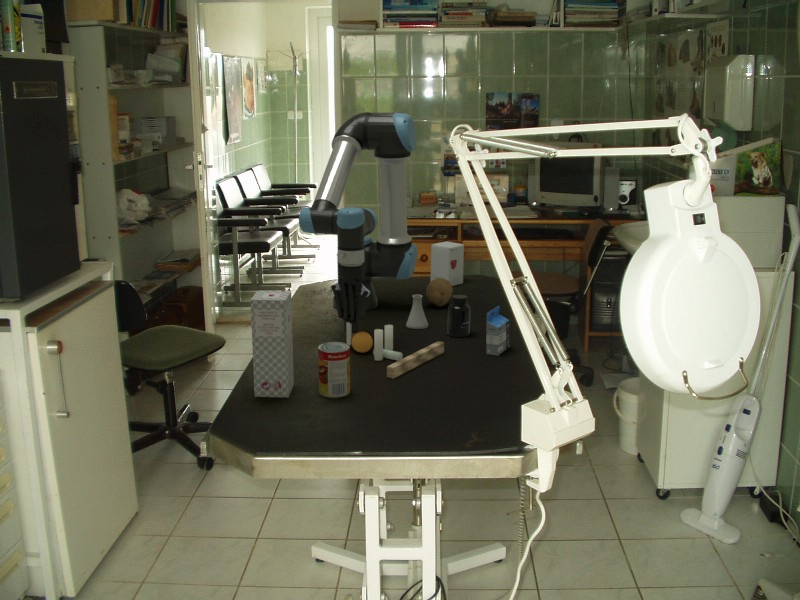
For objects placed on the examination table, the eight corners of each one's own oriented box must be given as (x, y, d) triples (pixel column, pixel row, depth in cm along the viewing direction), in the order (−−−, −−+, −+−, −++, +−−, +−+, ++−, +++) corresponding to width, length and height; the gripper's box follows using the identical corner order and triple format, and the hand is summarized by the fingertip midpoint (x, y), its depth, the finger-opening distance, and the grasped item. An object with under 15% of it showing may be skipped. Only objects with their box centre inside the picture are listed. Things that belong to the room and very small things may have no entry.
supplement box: (448, 287, 323) (449, 247, 319) (429, 283, 329) (430, 244, 325) (463, 283, 329) (464, 244, 325) (445, 279, 335) (446, 240, 331)
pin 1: (377, 357, 248) (377, 328, 245) (384, 358, 247) (384, 330, 244) (372, 359, 246) (372, 330, 244) (379, 361, 245) (379, 332, 242)
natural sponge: (444, 311, 292) (444, 282, 290) (420, 308, 297) (421, 279, 294) (456, 305, 300) (457, 277, 297) (433, 301, 304) (433, 273, 301)
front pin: (378, 346, 250) (402, 351, 246) (377, 354, 251) (402, 360, 246) (373, 348, 248) (398, 353, 244) (373, 356, 249) (397, 362, 244)
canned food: (342, 384, 227) (341, 340, 224) (355, 394, 221) (355, 348, 218) (314, 389, 224) (313, 344, 221) (326, 399, 217) (325, 353, 214)
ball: (361, 328, 255) (376, 330, 251) (363, 348, 256) (377, 351, 252) (346, 332, 251) (361, 335, 247) (348, 353, 252) (362, 356, 248)
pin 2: (387, 352, 252) (387, 324, 250) (394, 354, 251) (394, 325, 248) (382, 354, 250) (382, 326, 248) (389, 356, 249) (389, 327, 246)
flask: (406, 330, 273) (406, 298, 270) (405, 323, 280) (405, 292, 277) (429, 329, 273) (429, 298, 271) (427, 323, 280) (428, 292, 278)
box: (254, 396, 219) (250, 299, 212) (261, 384, 227) (257, 290, 220) (288, 397, 219) (285, 300, 212) (293, 385, 227) (291, 291, 220)
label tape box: (498, 356, 249) (499, 314, 246) (484, 354, 251) (486, 312, 248) (509, 347, 257) (511, 307, 253) (497, 345, 259) (498, 305, 255)
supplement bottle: (468, 338, 265) (469, 300, 261) (445, 337, 266) (446, 298, 263) (471, 331, 271) (472, 294, 268) (449, 330, 272) (449, 293, 269)
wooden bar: (438, 351, 253) (438, 341, 252) (444, 352, 252) (444, 342, 251) (386, 377, 232) (386, 366, 232) (393, 378, 231) (393, 368, 231)
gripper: (324, 262, 248) (325, 342, 254) (361, 269, 241) (361, 350, 247) (340, 258, 254) (341, 336, 260) (377, 264, 247) (377, 344, 253)
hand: (351, 343), depth 253 cm, fingers closed
